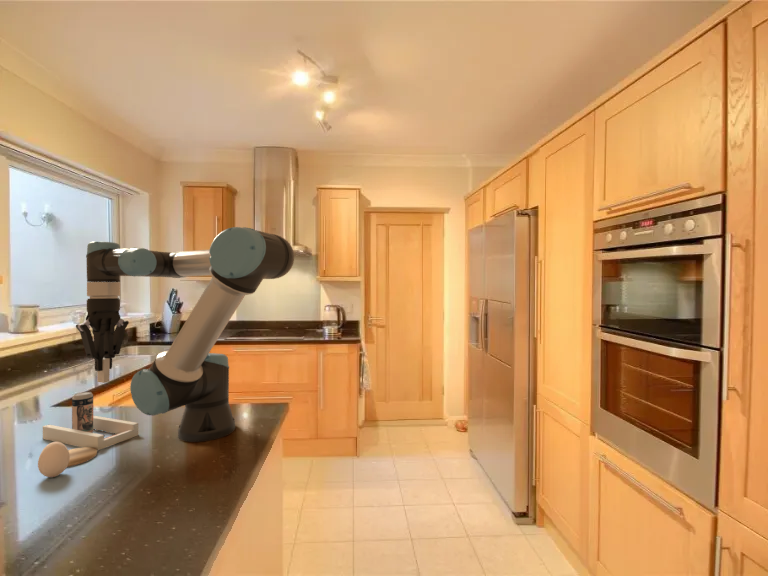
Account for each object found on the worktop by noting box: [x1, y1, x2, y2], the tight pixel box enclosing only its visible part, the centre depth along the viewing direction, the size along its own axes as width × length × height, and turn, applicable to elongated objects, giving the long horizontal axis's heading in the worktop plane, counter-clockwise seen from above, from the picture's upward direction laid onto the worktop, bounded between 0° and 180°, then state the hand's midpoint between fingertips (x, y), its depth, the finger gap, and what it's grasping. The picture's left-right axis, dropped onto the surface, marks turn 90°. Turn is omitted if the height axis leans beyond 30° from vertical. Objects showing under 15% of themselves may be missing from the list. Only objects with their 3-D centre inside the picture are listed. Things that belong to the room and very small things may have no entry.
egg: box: [37, 441, 70, 478], centre depth 85 cm, size 5×5×8 cm
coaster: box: [66, 447, 98, 468], centre depth 93 cm, size 10×10×1 cm
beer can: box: [71, 391, 94, 433], centre depth 109 cm, size 5×5×12 cm
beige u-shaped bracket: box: [42, 415, 139, 451], centre depth 107 cm, size 23×11×4 cm, turn 70°
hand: (103, 381), depth 106 cm, fingers closed
